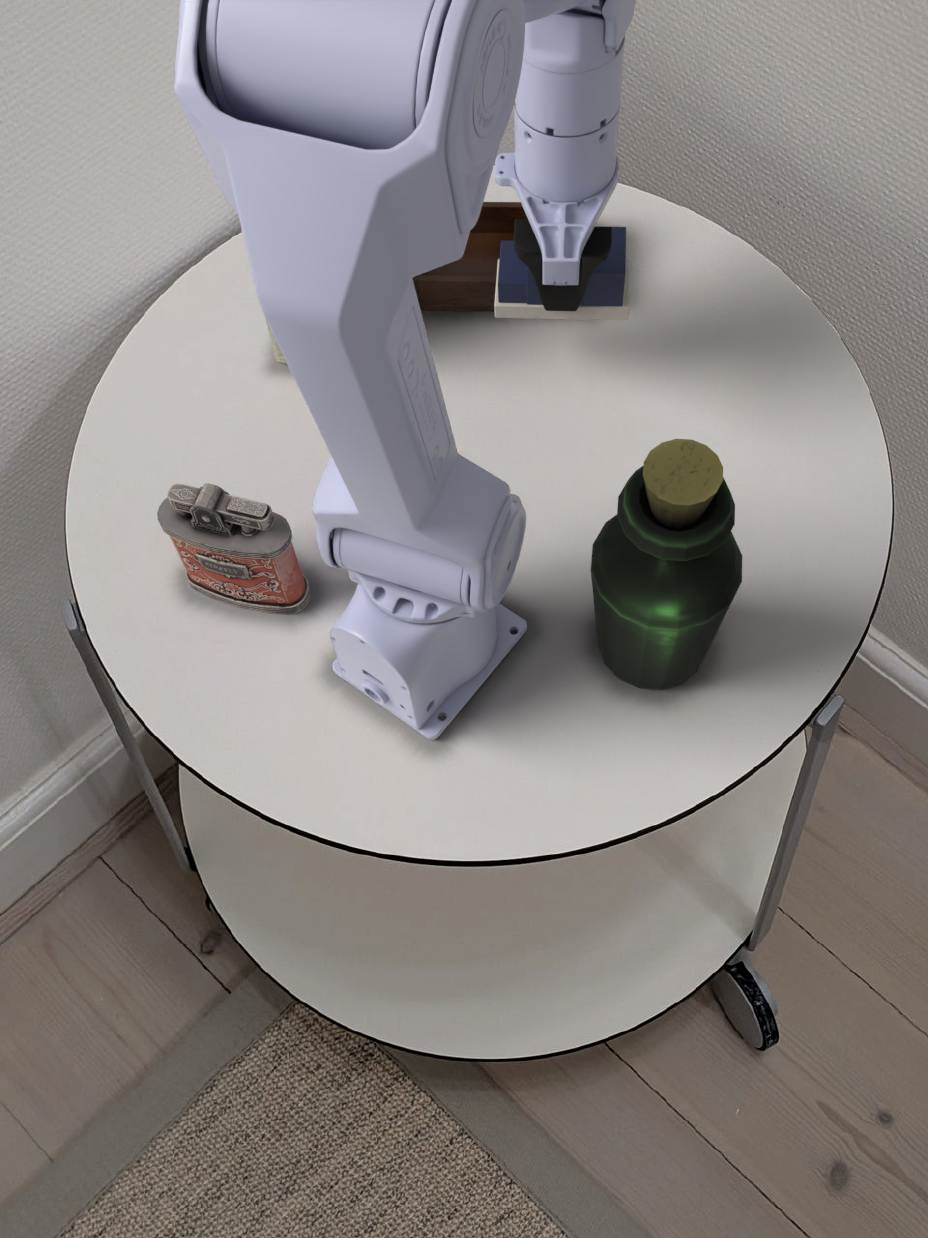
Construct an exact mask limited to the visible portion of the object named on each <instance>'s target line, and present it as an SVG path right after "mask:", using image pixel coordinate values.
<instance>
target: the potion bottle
mask: <svg viewBox="0 0 928 1238" xmlns="http://www.w3.org/2000/svg"><path fill="white" fill-rule="evenodd" d="M616 510H617V511H616V514H615V515H614V516H612V517H611V518H610V519H608V520H607V521H606V522H605V523H604V524H603V526H602V528H601V529H600V531H599V533H598V534H597V537H596V538H595V540H594V541H593V543H592V548H591V560H590V578H591V579H590V580H591V586H592V598H593V609H594V619H595V630H596V640H597V647H598V650H599V653H600V655H601V657H602V661H603V663H604V664H605V666H606V667H607V668H608V669H609V670H610V671H611V672H612V673H613V674H614V675H615V676H616V677H617V678H618V679H619V680H621V681H623V682H625V683H627V684H630V685H631V686H634V687H635V688H637V689H647V690H648V689H649V690H659V691H661V690H665V689H668V688H671V687H675V686H680V685H683V683H685V682H686V681H687V680H689V678H691V677H692V676H694V675H695V674H696V673H697V672H698V671H699V669H700V667H701V666H702V664H703V662H704V660H705V658H706V656H707V654H708V652H709V650H710V648H711V646H712V643H713V641H714V640H715V638H716V636H717V634H718V631H719V629H720V627H721V625H722V623H723V621H724V620H725V617H726V615H727V613H728V611H729V610H730V606H731V605H732V603H733V601H734V599H735V597H736V595H737V593H738V590H739V588H740V586H741V584H742V582H743V553H742V552H741V549H740V547H739V545H738V543H737V541H736V538H735V536H734V534H733V532H732V530H733V529H734V527H735V524H736V504H735V500H734V497H733V495H732V492H731V490H730V488H729V486H728V483H727V482H726V479H725V477H724V466H723V463H722V462H721V459H720V457H719V455H718V454H717V453H715V451H714V450H712V449H711V448H710V447H709V446H708V445H707V444H705V443H701V442H699V441H697V440H694V439H689V438H688V439H687V438H674V439H669V440H667V441H663V442H661V443H659V444H658V445H656V446H655V447H653V448H652V449H650V451H649V452H648V454H647V456H646V457H645V459H644V461H643V465H642V466H640V467H639V468H638V469H636V470H635V471H633V473H632V475H631V476H630V477H629V479H628V480H627V481H626V483H625V484H624V486H623V488H622V489H621V492H620V493H619V494H618V497H617V509H616Z"/></svg>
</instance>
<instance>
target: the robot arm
mask: <svg viewBox="0 0 928 1238" xmlns="http://www.w3.org/2000/svg"><path fill="white" fill-rule="evenodd" d="M636 4H637V0H180V1H179V11H178V32H177V41H176V50H175V60H174V77H175V78H174V84H173V90H174V93H175V96H176V98H177V100H178V102H179V104H180V106H181V109H182V111H183V113H184V116H185V117H186V119H187V121H188V124H189V126H190V128H191V130H192V133H193V135H194V137H195V140H196V141H197V143H198V146H199V148H200V150H201V152H202V154H203V156H204V159H205V161H206V163H207V165H208V167H209V169H210V172H211V174H212V177H213V179H214V180H215V182H216V185H217V187H218V190H219V191H220V193H221V196H222V198H223V200H224V201H225V203H226V204H227V205H228V206H229V207H230V208H231V209H232V210H233V211H234V212H235V213H236V214H237V215H238V219H239V224H240V228H241V229H242V231H241V234H242V233H243V234H242V238H243V237H244V238H243V242H244V241H245V242H244V245H245V250H246V255H247V258H248V263H249V267H250V272H251V276H252V280H253V285H254V289H255V293H256V297H257V301H258V303H259V306H260V309H261V312H262V314H263V316H264V319H265V318H266V320H265V322H266V321H267V323H268V325H269V327H270V329H271V331H272V333H273V335H274V337H275V339H276V341H277V343H278V346H279V348H280V350H281V352H282V354H283V356H284V358H285V360H286V362H287V363H286V364H287V366H288V369H289V370H290V373H291V375H292V377H293V378H294V381H295V383H296V386H297V387H298V389H299V392H300V393H301V396H302V398H303V400H304V402H305V404H306V406H307V408H308V410H309V413H310V415H311V417H312V419H313V420H314V423H315V425H316V427H317V429H318V431H319V433H320V435H321V437H322V439H323V442H324V443H325V445H326V447H327V450H328V452H329V454H330V457H329V459H328V461H327V463H326V465H325V468H324V469H323V472H322V474H321V476H320V479H319V481H318V485H317V487H316V491H315V493H314V496H313V499H312V509H311V513H312V515H313V517H314V519H315V521H316V526H315V540H316V545H317V548H318V550H319V553H320V558H321V559H322V561H323V562H324V564H325V565H326V566H328V567H331V568H335V569H341V568H342V569H345V570H347V573H348V576H349V579H350V581H352V582H354V583H357V586H356V588H355V591H354V594H353V596H352V597H351V599H350V601H349V602H348V604H347V606H346V608H345V609H344V610H343V611H342V612H341V614H340V615H339V616H338V618H336V620H335V621H334V622H333V624H332V625H331V626H330V629H329V632H328V633H329V638H330V641H331V645H332V647H333V650H334V653H335V654H334V655H335V657H336V658H335V659H334V661H333V662H332V666H331V668H332V670H333V673H334V674H335V675H337V676H338V677H340V678H341V679H343V680H345V682H347V683H349V684H350V685H351V686H352V687H354V688H355V689H357V690H358V691H360V692H361V693H362V694H364V695H365V696H367V697H368V698H369V699H371V701H373V702H375V703H376V704H377V705H379V706H381V707H382V708H383V709H385V710H386V711H387V712H388V713H390V714H392V715H393V716H395V717H396V718H397V719H399V720H400V721H402V722H403V723H404V724H406V725H408V726H409V727H411V728H412V729H413V730H415V732H417V733H419V734H420V735H422V736H423V737H424V738H426V739H427V740H433V741H434V740H437V739H438V737H440V736H441V734H442V733H443V732H444V731H446V728H447V727H448V726H449V725H450V724H451V723H452V721H453V720H454V719H455V717H457V715H458V714H459V713H460V711H462V709H463V708H464V707H465V706H466V704H467V703H468V702H469V701H470V699H471V698H472V697H473V696H474V694H475V693H476V692H477V691H478V690H479V689H480V688H481V686H482V685H483V684H484V683H485V682H486V680H487V679H488V678H489V677H490V675H491V674H492V673H493V672H494V670H495V669H496V668H497V667H498V666H499V665H500V663H501V662H502V661H503V660H504V659H505V657H506V656H507V655H508V654H509V653H510V651H511V650H512V649H513V647H514V646H515V645H516V644H517V643H518V642H519V640H520V639H521V638H522V637H523V636H524V634H525V633H526V631H527V629H528V623H527V621H526V620H525V619H524V618H523V617H521V616H519V615H518V614H517V613H515V612H513V611H512V610H510V609H509V608H507V607H506V606H504V605H502V604H501V603H500V602H501V601H502V600H503V598H504V597H505V595H506V593H507V591H508V589H509V587H510V584H511V582H512V579H513V577H514V574H515V571H516V568H517V566H518V563H519V559H520V555H521V552H522V548H523V545H524V544H523V543H524V539H525V533H526V527H527V512H526V509H525V507H524V506H523V504H522V499H521V498H520V496H519V495H517V494H514V493H511V487H510V485H509V484H508V483H507V482H505V480H502V479H501V478H500V477H498V476H496V475H494V474H493V473H491V472H490V471H488V470H487V469H485V468H483V467H481V466H480V465H478V464H476V463H475V462H473V461H471V460H470V459H468V458H466V457H464V456H463V455H462V454H461V453H459V451H458V448H457V445H456V441H455V437H454V433H453V429H452V425H451V422H450V417H449V414H448V410H447V406H446V402H445V399H444V395H443V391H442V387H441V383H440V378H439V375H438V371H437V368H436V364H435V363H436V362H435V360H434V356H433V353H432V349H431V348H432V347H431V344H430V341H429V337H428V333H427V329H426V326H425V321H424V317H423V314H422V310H421V309H420V306H419V302H418V298H417V294H416V290H415V286H414V283H413V279H412V278H413V277H415V276H417V275H420V274H422V273H425V272H428V271H430V270H433V269H436V268H438V267H441V266H443V265H446V264H449V263H451V262H454V261H456V260H459V259H461V258H462V256H463V254H464V251H465V248H466V244H467V241H468V237H469V233H470V230H471V229H473V227H474V226H475V225H476V223H477V221H478V218H479V215H480V212H481V208H482V205H483V202H485V198H486V194H487V191H488V187H489V183H490V180H491V177H492V173H493V170H494V183H495V184H497V186H499V187H511V188H512V189H514V191H515V193H516V195H517V198H518V199H519V202H521V204H522V206H523V209H524V211H525V213H526V216H527V218H528V219H515V225H514V249H515V252H516V255H517V257H518V259H520V260H521V261H522V262H523V263H524V264H525V265H526V266H527V267H528V268H529V270H530V271H531V273H532V275H533V277H534V279H535V282H536V285H537V289H538V292H539V296H540V299H541V302H542V304H543V306H544V308H545V310H546V311H576V310H577V309H578V307H579V305H580V303H581V301H582V298H583V295H584V292H585V289H586V286H587V284H588V281H589V279H590V277H591V275H592V273H593V272H594V270H595V269H596V268H597V267H598V266H599V265H600V264H601V263H602V262H603V261H605V260H606V259H607V257H608V255H609V252H610V249H611V245H612V227H613V226H603V227H595V226H597V223H598V221H599V219H600V217H602V214H603V213H604V210H605V209H606V206H607V205H608V202H609V201H610V199H611V197H612V195H613V193H614V191H615V190H616V187H617V185H618V181H619V174H620V162H619V161H620V160H619V157H618V139H619V137H618V136H619V123H620V112H621V96H622V95H621V94H622V82H623V68H624V57H625V55H624V54H625V53H624V52H625V42H626V41H625V39H626V34H627V31H628V29H629V28H630V25H631V23H632V21H633V18H634V15H635V7H636ZM512 112H513V118H514V119H513V120H514V121H513V123H514V151H511V152H507V151H506V152H500V153H499V154H498V152H499V148H500V145H501V142H502V139H503V136H504V134H505V132H506V130H507V127H508V125H509V122H510V118H511V115H512ZM512 631H516V632H517V633H515V634H513V633H511V632H512ZM441 716H445V717H446V718H445V719H444V720H441V719H439V718H440V717H441Z"/></svg>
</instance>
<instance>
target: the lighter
mask: <svg viewBox="0 0 928 1238" xmlns="http://www.w3.org/2000/svg"><path fill="white" fill-rule="evenodd" d="M166 496H167V497H166V498H164V499H163V501H162V502H161V503H160V505H159V506H158V509H157V514H156V515H157V521H158V524H159V525H160V527H161V529H162V530H163V533H165V534H167V535H168V536H169V538H170V540H171V543H172V545H173V546H174V548H175V551H176V553H177V555H178V556H179V558H180V560H181V563H182V565H183V566H184V568H185V577H186V580H187V581H188V584H189V585H190V587H191V589H192V590H193V591H195V592H197V593H199V594H201V595H203V596H205V597H206V598H209V599H211V600H213V601H215V602H219V603H222V604H225V605H228V606H231V607H234V608H236V609H241V610H246V611H252V612H257V613H261V614H263V613H264V614H277V615H295V614H297V613H299V612H301V611H302V610H303V609H305V607H307V605H308V603H309V601H310V599H311V593H312V592H311V587H310V584H309V581H308V579H307V577H306V575H304V574H303V573H302V572H303V571H302V569H301V566H300V562H299V560H298V557H297V554H296V551H295V549H294V548H295V547H294V545H293V542H292V540H293V533H292V529H291V526H290V523H289V521H288V520H287V519H286V517H284V516H283V515H281V514H279V513H277V512H274V511H273V509H272V507H271V505H270V504H269V503H265V502H261V501H258V500H254V499H253V500H252V499H250V498H249V499H248V498H244V497H240V496H235V495H232V494H230V493H229V492H227V491H226V490H225V489H223V488H222V487H220V486H219V485H216V484H212V483H203V485H201V486H199V487H197V486H193V485H189V484H185V483H179V482H177V483H174V484H171V486H170V487H169V489H168V492H167V494H166Z"/></svg>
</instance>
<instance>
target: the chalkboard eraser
mask: <svg viewBox="0 0 928 1238" xmlns="http://www.w3.org/2000/svg"><path fill="white" fill-rule="evenodd" d="M595 227H604V226H602V225H599V226H597V225H595ZM611 227H612V245H611V249H610V252H609V255H608V257H607V259H606V260H605V261H603V262H602V263H601V264H600V265H599V266H598V267H597V268H596V269H595V270H594V272H593V273H592V275H591V277H590V279H589V281H588V284H587V286H586V289H585V292H584V295H583V298H582V301H581V303H580V305H579V307H578V309H577V310H576V311H546V310H545V308H544V306H543V304H542V302H541V299H540V296H539V292H538V289H537V285H536V282H535V279H534V277H533V275H532V273H531V271H530V270H529V268H528V267H527V266H526V265H525V264H524V263H523V262H522V261H521V260H520V259H518V257H517V255H516V252H515V249H514V241H501V246H500V259H498V264H497V277H496V290H495V303H494V309H495V311H494V318H495V319H532V320H534V319H535V320H536V319H537V320H576V321H577V320H579V321H581V320H582V321H625V322H627V321H629V318H630V309H631V261H630V260H627V227H626V226H611Z"/></svg>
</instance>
